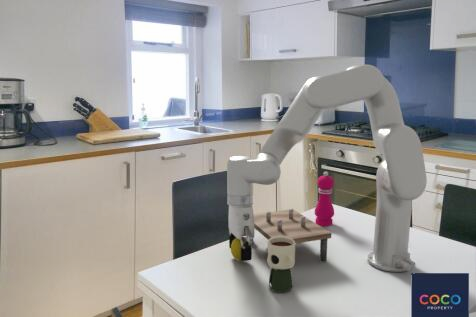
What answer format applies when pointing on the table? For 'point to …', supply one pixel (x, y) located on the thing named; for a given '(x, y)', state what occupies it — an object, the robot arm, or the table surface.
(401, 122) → the robot arm
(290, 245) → the character mug
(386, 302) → the table surface
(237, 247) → the lemon
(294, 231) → the peg shelf
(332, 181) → the pepper mill
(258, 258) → the table surface
